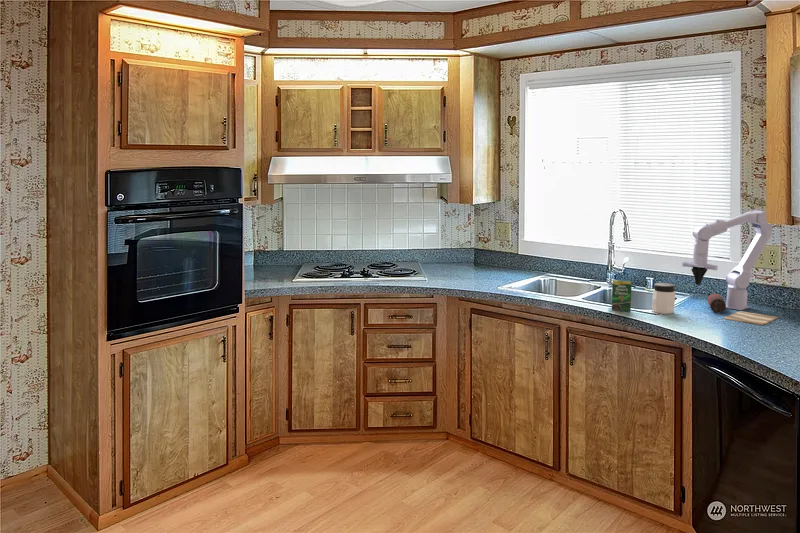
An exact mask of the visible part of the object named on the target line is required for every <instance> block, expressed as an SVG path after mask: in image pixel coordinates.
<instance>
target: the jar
mask: <svg viewBox="0 0 800 533" xmlns="http://www.w3.org/2000/svg"><path fill="white" fill-rule="evenodd" d="M653 285H654V286H653V290H652V299H651V300H652V301H651V311H652V310H654V311H655V312H658V313H657V314H662V315H671V314H674V313H675V302H676V291H675V288H676V285H675V284H673V283H667V282H656V283H654V284H653ZM655 312H654V313H655Z"/></svg>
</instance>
